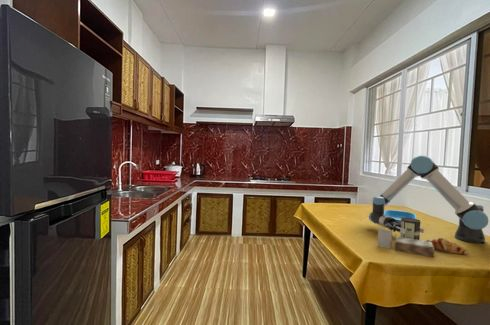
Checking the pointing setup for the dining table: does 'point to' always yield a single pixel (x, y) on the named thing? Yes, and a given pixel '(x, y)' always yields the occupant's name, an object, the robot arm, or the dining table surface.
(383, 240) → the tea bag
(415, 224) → the coffee can
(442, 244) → the croissant
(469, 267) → the dining table surface
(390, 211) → the casserole dish
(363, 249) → the dining table surface
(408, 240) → the stand
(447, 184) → the robot arm
